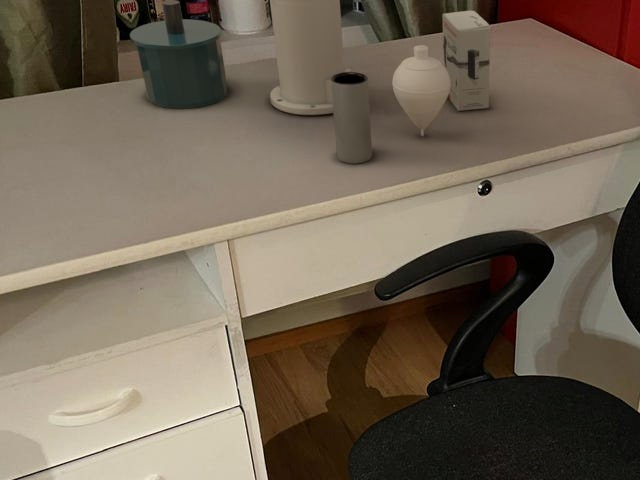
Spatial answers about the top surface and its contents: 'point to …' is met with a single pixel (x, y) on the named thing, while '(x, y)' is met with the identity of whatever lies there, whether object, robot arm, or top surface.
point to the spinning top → (421, 87)
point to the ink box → (467, 59)
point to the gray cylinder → (351, 117)
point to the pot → (184, 76)
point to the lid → (175, 31)
